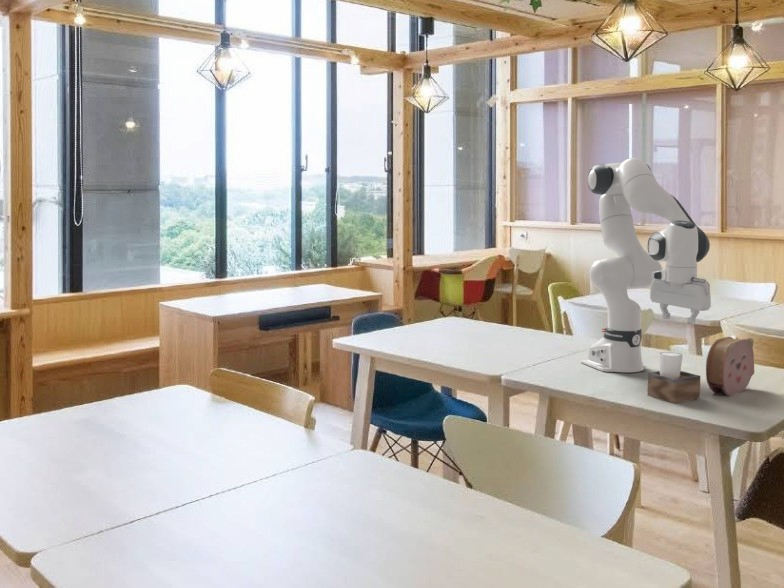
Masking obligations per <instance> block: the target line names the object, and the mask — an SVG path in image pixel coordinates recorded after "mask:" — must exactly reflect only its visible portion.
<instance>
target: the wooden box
mask: <svg viewBox="0 0 784 588" xmlns="http://www.w3.org/2000/svg"><path fill="white" fill-rule="evenodd" d="M700 393H701V375H699V374H695V373H691V372H687V371H683V370H680V377H679V378H676V379H672V378H668V377H665V376H661V375H660V370H657V371H652V372H648V375H647V396H649V397H652V398H656V399H658V400H659V399H660V400H662V401H666V402H669V403H672V404H679V403H683V402H688V401H694V400H698V399H700Z"/></svg>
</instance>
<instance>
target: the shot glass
mask: <svg viewBox="0 0 784 588" xmlns="http://www.w3.org/2000/svg"><path fill="white" fill-rule="evenodd" d="M658 361H659V363H658V364H659V371H660V375H661V376H665V377H668V378H672V379H676V378H679V377H680V371H682V369H681V368H682V365H683V364H682V361H683V354H682V353H679V352H675V351H673V352H672V351H663V352H659V353H658Z"/></svg>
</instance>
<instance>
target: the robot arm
mask: <svg viewBox="0 0 784 588" xmlns="http://www.w3.org/2000/svg"><path fill="white" fill-rule="evenodd" d="M652 171H653V170H652V168H651V167H650V166H649V164H647V163H646V162H645V161H644V160H643V159H641V158H638V157H630V158H627V159H626V160H623V161H622V162H621V161H620V162H611V163H606V164H605V163H600V164H599V163H598V164H596V165H593V166H592V167H590V170H589V171H588V175H587V184H588V187H589V190H590V191H591V192H592V193H593V194H595V195H599V196H600V197H599V198H598V199H599V200H598V211H599V213H598V216H599V217H598V218H599V224H600V230H601V234H602V241H603V243H604V245H605V247H606V248H607V249H610V250H611V251H613V252H615V253H616V254H617V255H618V256H619V257H605V258H602V259H598V260H594V261H593V262H592V264H591V266H590V268H589V271H588V273H589V274H588V275H589V280H590V283H591V284H592V285H593V286H594V288H596V289H597V290H599V292H600V293H601V294H602V296H603V298H604V300H605V303H606V307H607V308H606V309H607V327H606V328H601V330H602V331H601V333H603V336H602V337H601V338H600V339H599V340H598V341H596V342H594V343H593V344H592V345H590V347H589V350H588V355H587V357H585V358H583V359H581V361H580V363H581V364H583V365H585V366H589V367H591V368H594V369H596V370H598V371H601V372H609V373H611V372H612V373H614V372H615V373H639V372H641V371H642V372H643V371H644V370H645V367H644V362H643V356H642V354H643V353H642V343H641V341H642V338H643V332H642V331H643V329H642V328H641V326H642V308H641V306H640V304H639V302H636V301H635V300H633V299H632V298H629V294H628V290H630V289H631V290H633V289H635V290H636V289H647V288H650V289H649V291H650V292H649V298H650V300H651V302H652V303H655V304H659V309H660V310H661V312H662V319H664V320H670V319H671V313H670V312H669V310H668V307H669V306H672V307H678V308H682V309H683V308H684V309H689V310H690V313H691V315H690V316H689V317H687V318H686V319H687V324H689V325H695V324H696V318H697V317H698V315H699V314H700V311H701V312H703V311H709V310H710V308H711V306H712V305H711V304H712V303H711V302H712V299H711V298H712V297H711V289H710V288H711V284H710V283H709V282H708V281H707V279H705V278H699V277H697V276H698V275H697V274H698V263H699V262H701V261H702V260H703V259H704V258H705V257H706V256H707V254H708V253H709V251H710V248H711V247H710V246H711V245H710V244H711V243H710V239H709V237H708V236H707V234H706V233H705V232H704V231H703V230H702V229H701V228H700V227H698V225H697V224H696V223H695V222H694V220H693V219H692V217H691V216H690V214H689V213H688V212H687V210H686V209H685V208H684V205H682V203H681V202H680V201H679V200H678V199H677V198H676V197H675V196H674V195H672V194H670V193H669V192H668V191H666V189H664V188H663V186H662V185H660V184H659V182H658V181H657V179H656V176H655V175H654V174H653V172H652ZM631 208H632V209H634V210H635V211H637V212H639V213H645V214H649V215H655V216H656V217H657V216H658V217H661V218H664V219H665V220H667V221H668V222H669V224H668V226H667V227H665V228H663V229H662V230H661V229H660V230H658V231H654V232H653V233H652V234H651V235H650V236H649V238H648V240H647V251H646V249H645V248H644V247H643V246H642V244H641V243H640V241H639V238H638V236H637V231H636V228H635V223H634V218H633V213H632V209H631ZM660 262H666V263H665V269H663V267H662V264H661V263H660Z"/></svg>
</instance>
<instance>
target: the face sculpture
mask: <svg viewBox="0 0 784 588" xmlns="http://www.w3.org/2000/svg"><path fill="white" fill-rule="evenodd" d="M754 343H755V340H754V339H753V338H752V337H747V338H741V339H740V338H739V339H735V338H733V337H731V336H726V337H722V338H721V337H720V338H717V339H716V340H714V341H713V343H711V346H710V348H709V350H708V353H707V356H706V361H705V379H706V383H707V385H708V388H709V390H710V391H711V392H712V393H713V394H719V393H724V394H725V395H726V396H727V397H731V396H734V395H737V394H740V393H741V392H744V391H745V390H746V389H747V387H748V386H749V383H750V381H751V378H752V377H753V376H754V375H755V359H754V358H755V355H754Z"/></svg>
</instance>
